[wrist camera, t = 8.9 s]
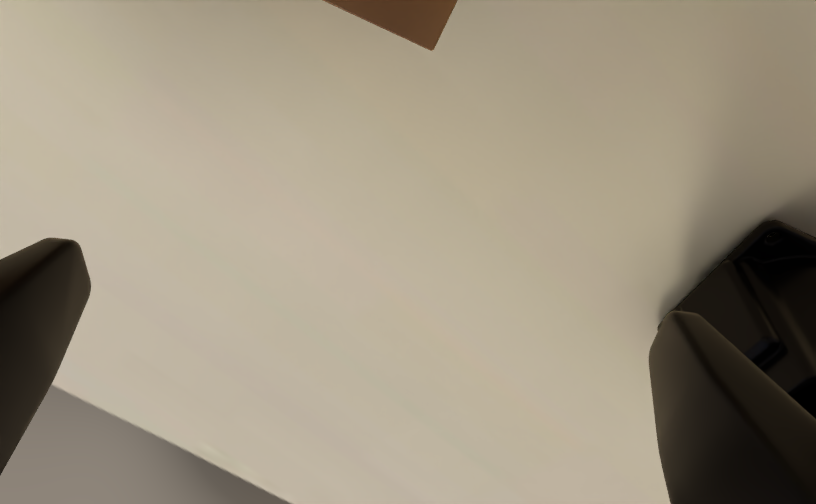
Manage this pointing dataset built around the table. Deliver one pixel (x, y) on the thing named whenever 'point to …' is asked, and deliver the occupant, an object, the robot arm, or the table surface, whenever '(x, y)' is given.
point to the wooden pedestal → (404, 17)
